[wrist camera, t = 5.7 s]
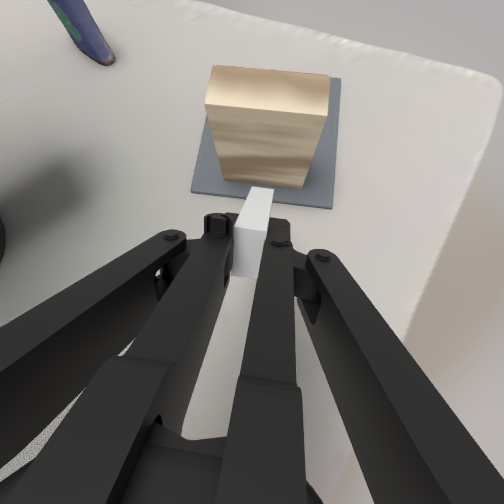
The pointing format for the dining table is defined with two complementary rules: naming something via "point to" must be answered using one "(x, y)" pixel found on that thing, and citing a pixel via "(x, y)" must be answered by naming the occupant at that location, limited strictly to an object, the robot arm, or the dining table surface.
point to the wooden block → (266, 123)
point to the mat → (312, 193)
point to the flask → (83, 29)
